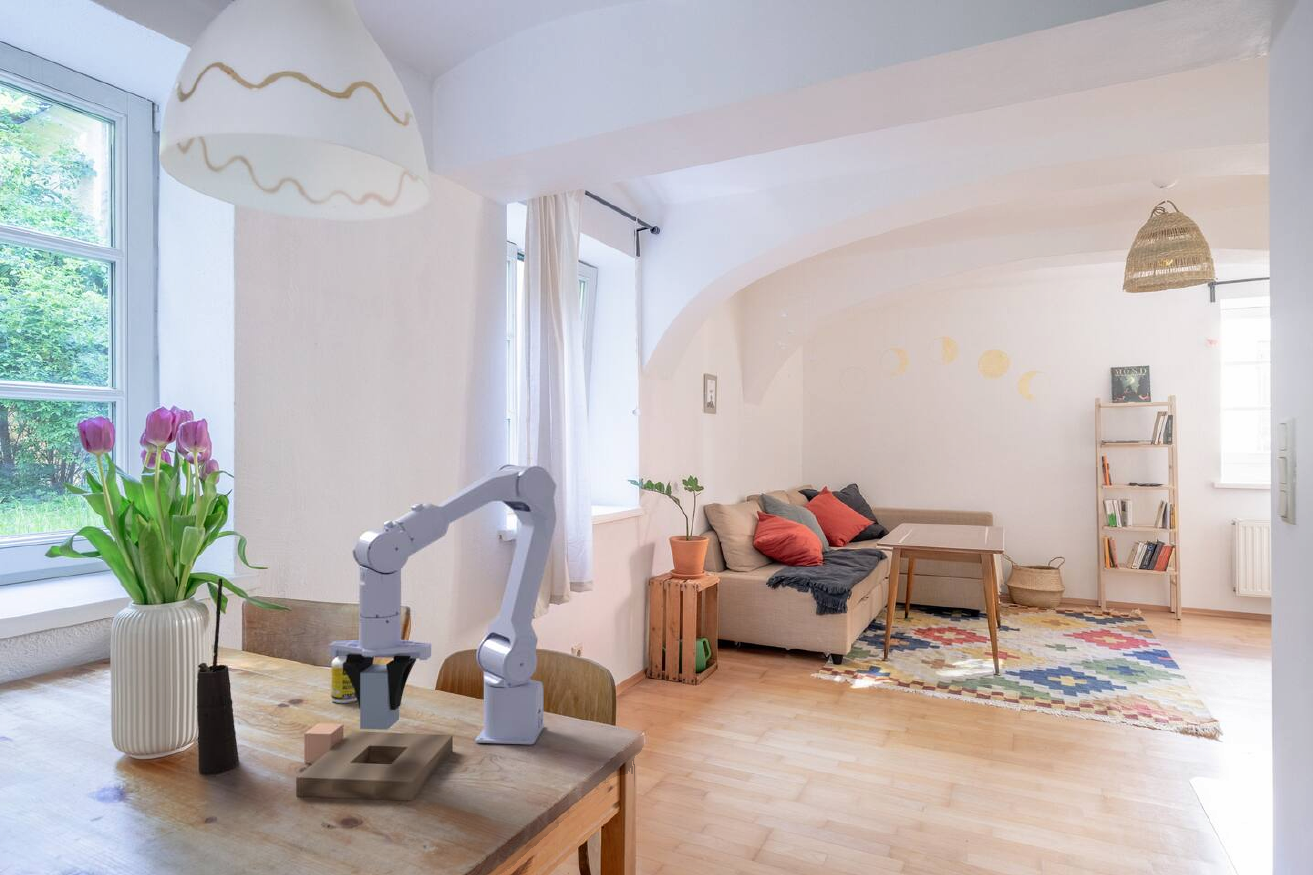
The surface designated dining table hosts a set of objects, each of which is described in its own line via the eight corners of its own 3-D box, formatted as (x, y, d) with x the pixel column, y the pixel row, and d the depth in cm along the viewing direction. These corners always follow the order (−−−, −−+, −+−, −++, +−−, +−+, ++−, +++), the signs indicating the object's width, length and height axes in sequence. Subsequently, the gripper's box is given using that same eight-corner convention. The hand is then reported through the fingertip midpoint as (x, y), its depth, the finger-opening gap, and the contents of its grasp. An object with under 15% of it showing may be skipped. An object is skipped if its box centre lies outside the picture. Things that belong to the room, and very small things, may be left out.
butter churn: (166, 765, 111) (167, 575, 111) (237, 746, 118) (238, 567, 118) (184, 785, 105) (185, 584, 105) (258, 764, 112) (258, 575, 112)
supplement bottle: (341, 706, 136) (341, 651, 136) (325, 699, 139) (325, 646, 139) (368, 697, 140) (368, 645, 140) (352, 691, 144) (352, 640, 144)
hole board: (452, 750, 117) (452, 734, 117) (411, 800, 101) (411, 781, 101) (352, 747, 118) (352, 731, 118) (296, 795, 102) (296, 777, 102)
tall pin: (399, 719, 111) (399, 665, 111) (387, 729, 107) (387, 673, 107) (372, 718, 112) (372, 664, 112) (360, 728, 108) (360, 672, 108)
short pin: (343, 753, 116) (343, 723, 116) (330, 764, 112) (330, 733, 112) (318, 752, 116) (318, 723, 116) (304, 763, 112) (304, 733, 112)
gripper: (317, 618, 106) (317, 715, 106) (418, 621, 105) (417, 718, 105) (342, 607, 113) (342, 698, 113) (436, 609, 112) (436, 701, 112)
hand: (379, 707), depth 109 cm, fingers closed on tall pin, 4 cm apart
